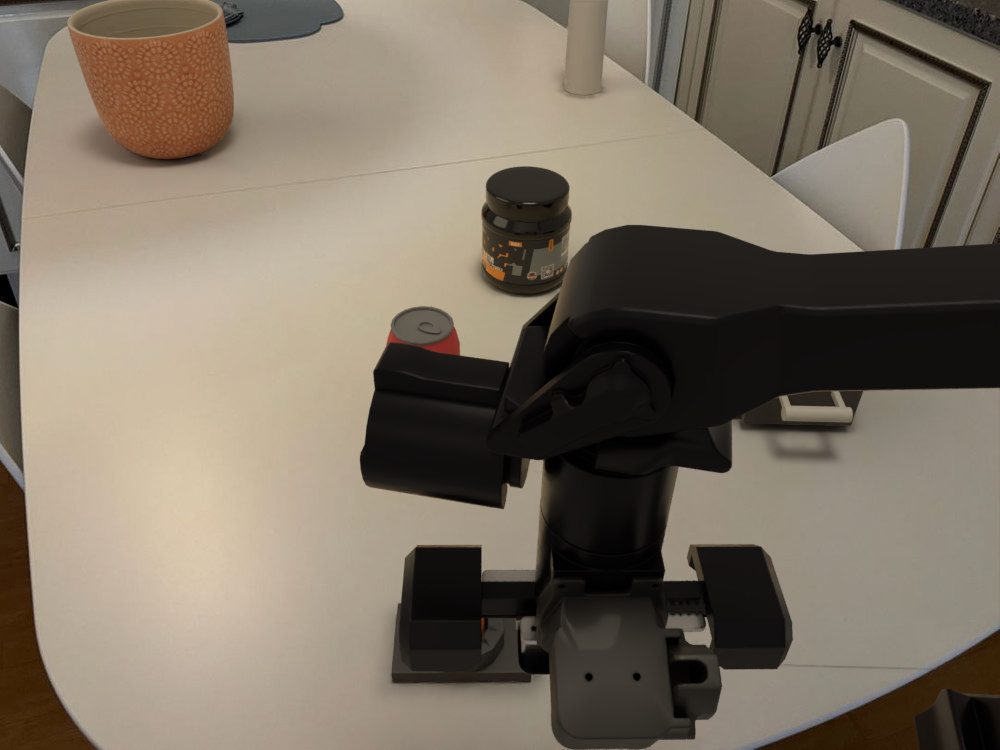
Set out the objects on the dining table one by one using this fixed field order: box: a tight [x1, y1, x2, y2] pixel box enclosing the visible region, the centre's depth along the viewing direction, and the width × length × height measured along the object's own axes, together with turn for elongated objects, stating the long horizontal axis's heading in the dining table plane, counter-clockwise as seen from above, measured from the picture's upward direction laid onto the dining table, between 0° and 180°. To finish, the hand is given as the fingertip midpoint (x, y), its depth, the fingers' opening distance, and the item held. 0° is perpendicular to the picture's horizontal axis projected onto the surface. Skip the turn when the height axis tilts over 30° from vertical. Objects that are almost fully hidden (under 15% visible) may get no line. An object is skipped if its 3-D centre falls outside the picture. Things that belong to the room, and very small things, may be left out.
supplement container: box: [480, 165, 573, 295], centre depth 100 cm, size 10×10×12 cm
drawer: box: [740, 391, 864, 427], centre depth 83 cm, size 15×10×7 cm
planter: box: [66, 0, 235, 160], centre depth 126 cm, size 21×21×19 cm
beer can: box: [385, 305, 461, 356], centre depth 79 cm, size 7×7×12 cm
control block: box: [391, 602, 532, 683], centre depth 63 cm, size 10×6×3 cm, turn 91°
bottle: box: [563, 0, 609, 96], centre depth 144 cm, size 7×7×28 cm
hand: (578, 694), depth 48 cm, fingers closed
